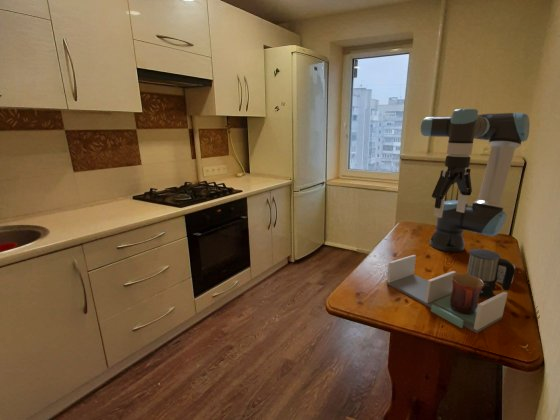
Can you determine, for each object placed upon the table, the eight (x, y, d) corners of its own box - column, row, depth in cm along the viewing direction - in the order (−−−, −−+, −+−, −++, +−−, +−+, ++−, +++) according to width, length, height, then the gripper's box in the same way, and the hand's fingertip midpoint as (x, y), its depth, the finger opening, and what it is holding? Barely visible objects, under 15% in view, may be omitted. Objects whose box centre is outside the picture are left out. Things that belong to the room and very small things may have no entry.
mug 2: (510, 286, 115) (514, 270, 113) (489, 280, 119) (492, 264, 118) (514, 277, 122) (518, 261, 120) (494, 271, 126) (498, 256, 125)
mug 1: (446, 299, 104) (450, 271, 101) (476, 305, 100) (482, 277, 97) (447, 318, 93) (452, 288, 90) (481, 326, 89) (487, 295, 87)
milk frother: (470, 297, 107) (477, 258, 103) (450, 276, 122) (456, 241, 119) (513, 299, 106) (522, 260, 102) (488, 278, 121) (495, 243, 117)
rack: (411, 275, 123) (413, 254, 120) (501, 318, 95) (507, 293, 93) (383, 284, 115) (386, 263, 113) (473, 335, 88) (478, 307, 85)
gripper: (468, 153, 115) (459, 207, 121) (425, 156, 104) (418, 216, 109) (489, 154, 109) (478, 212, 115) (446, 158, 97) (437, 221, 103)
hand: (449, 214), depth 112 cm, fingers open, 13 cm apart
